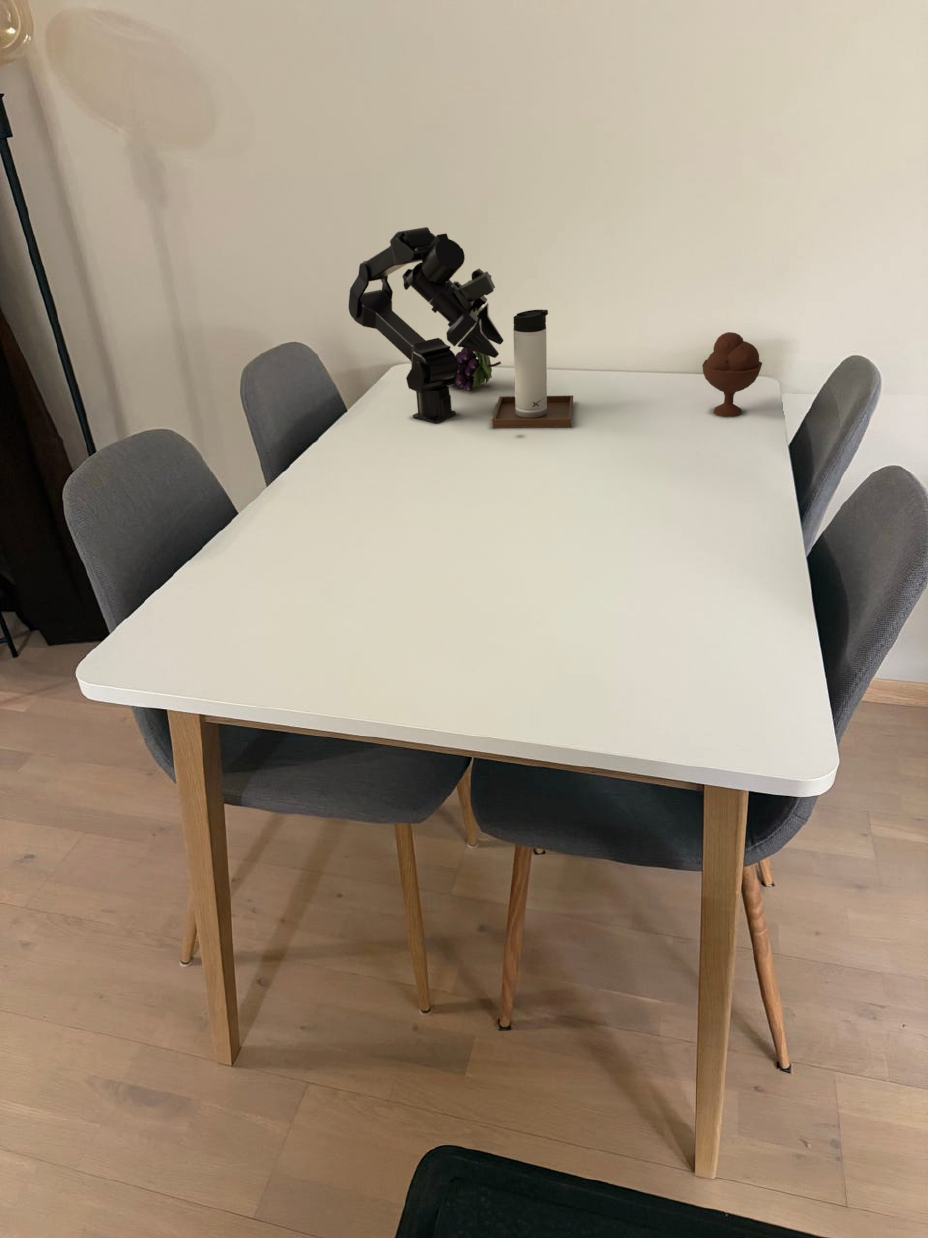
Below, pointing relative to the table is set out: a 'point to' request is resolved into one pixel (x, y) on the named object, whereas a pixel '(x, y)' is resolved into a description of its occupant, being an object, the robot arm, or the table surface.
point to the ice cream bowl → (731, 370)
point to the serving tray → (554, 418)
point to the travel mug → (530, 363)
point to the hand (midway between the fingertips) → (499, 349)
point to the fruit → (473, 369)
